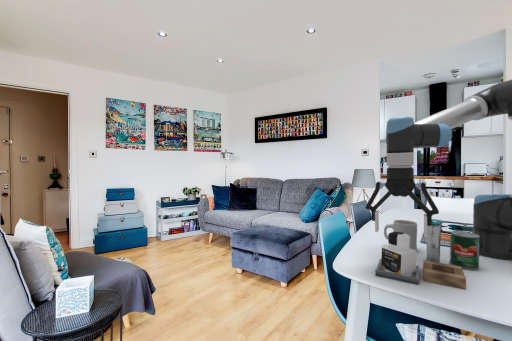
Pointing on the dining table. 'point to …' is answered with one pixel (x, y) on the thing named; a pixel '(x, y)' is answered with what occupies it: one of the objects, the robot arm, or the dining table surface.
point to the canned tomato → (464, 250)
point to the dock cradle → (405, 278)
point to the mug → (404, 230)
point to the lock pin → (434, 241)
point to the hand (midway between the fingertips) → (400, 233)
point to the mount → (444, 274)
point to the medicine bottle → (398, 254)
